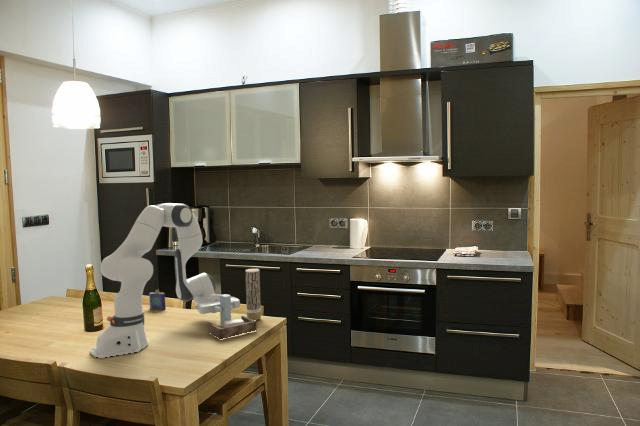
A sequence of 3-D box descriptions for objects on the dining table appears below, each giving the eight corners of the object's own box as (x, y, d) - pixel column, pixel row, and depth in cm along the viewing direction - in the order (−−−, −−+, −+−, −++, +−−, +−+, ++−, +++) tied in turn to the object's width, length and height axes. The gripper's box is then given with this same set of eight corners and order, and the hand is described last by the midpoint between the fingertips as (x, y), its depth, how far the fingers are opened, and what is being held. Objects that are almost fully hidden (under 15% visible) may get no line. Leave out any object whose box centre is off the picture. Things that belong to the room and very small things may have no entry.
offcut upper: (226, 330, 223) (226, 323, 222) (224, 327, 227) (224, 321, 226) (244, 327, 226) (243, 321, 226) (241, 325, 230) (241, 318, 230)
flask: (148, 309, 271) (148, 290, 270) (151, 308, 273) (151, 288, 273) (164, 310, 268) (163, 290, 268) (167, 308, 271) (166, 289, 270)
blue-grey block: (225, 327, 229) (224, 296, 228) (220, 324, 233) (219, 295, 232) (231, 325, 231) (230, 295, 229) (226, 323, 234) (225, 294, 233)
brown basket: (220, 340, 217) (220, 329, 217) (208, 333, 227) (208, 323, 226) (256, 332, 228) (256, 321, 228) (243, 325, 238) (243, 315, 237)
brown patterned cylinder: (244, 320, 246) (242, 270, 244) (252, 316, 252) (250, 268, 250) (255, 322, 243) (254, 271, 241) (263, 318, 249) (262, 269, 247)
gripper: (192, 300, 235) (205, 306, 224) (231, 293, 247) (245, 299, 236) (193, 313, 235) (205, 319, 224) (232, 306, 248) (245, 312, 237)
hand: (226, 309), depth 230 cm, fingers closed on blue-grey block, 3 cm apart
